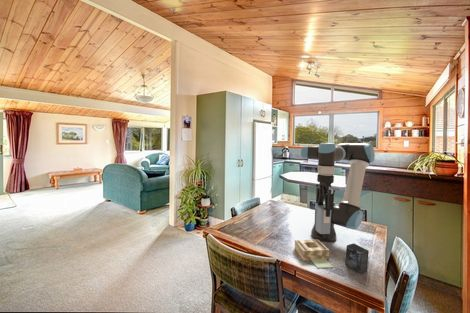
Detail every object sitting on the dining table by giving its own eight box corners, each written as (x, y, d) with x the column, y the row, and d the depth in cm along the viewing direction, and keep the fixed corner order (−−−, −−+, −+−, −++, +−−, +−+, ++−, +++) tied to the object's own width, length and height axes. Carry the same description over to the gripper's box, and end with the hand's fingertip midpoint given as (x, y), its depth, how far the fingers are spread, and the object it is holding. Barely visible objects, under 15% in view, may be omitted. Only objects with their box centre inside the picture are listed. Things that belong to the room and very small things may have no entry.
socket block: (317, 247, 126) (318, 238, 126) (328, 259, 114) (329, 249, 114) (294, 248, 125) (294, 239, 124) (303, 260, 113) (303, 250, 113)
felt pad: (324, 258, 115) (324, 257, 115) (333, 267, 107) (333, 266, 107) (310, 259, 114) (310, 258, 114) (317, 268, 106) (317, 267, 106)
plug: (324, 229, 112) (326, 204, 111) (329, 233, 107) (331, 207, 106) (315, 229, 111) (316, 204, 110) (320, 234, 106) (321, 208, 105)
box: (345, 265, 109) (346, 245, 108) (352, 262, 111) (354, 242, 110) (359, 274, 102) (361, 252, 101) (367, 271, 104) (369, 250, 103)
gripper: (310, 171, 115) (308, 214, 117) (328, 177, 98) (325, 228, 99) (323, 171, 116) (321, 214, 118) (343, 177, 98) (341, 227, 100)
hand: (323, 220), depth 109 cm, fingers closed on plug, 5 cm apart
